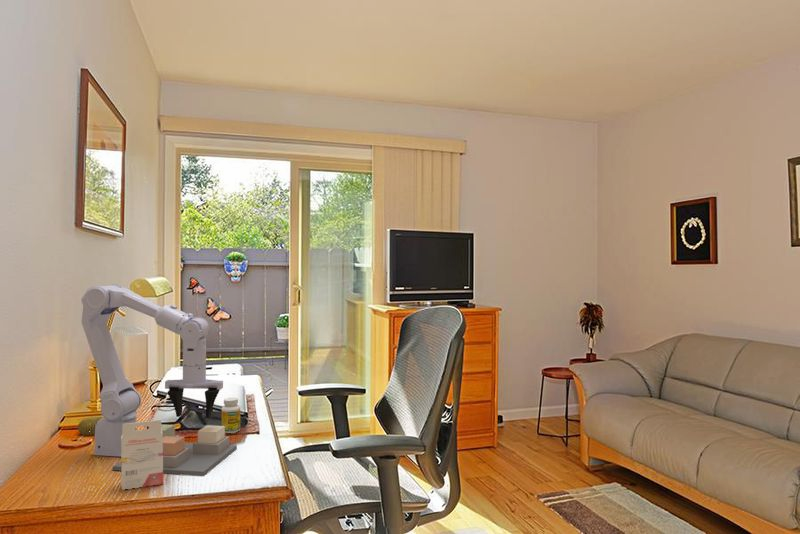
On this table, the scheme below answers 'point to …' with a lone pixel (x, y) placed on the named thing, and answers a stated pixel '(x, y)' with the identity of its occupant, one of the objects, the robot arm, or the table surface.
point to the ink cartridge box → (141, 455)
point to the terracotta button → (173, 445)
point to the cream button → (211, 434)
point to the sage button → (168, 430)
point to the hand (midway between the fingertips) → (193, 416)
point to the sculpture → (90, 427)
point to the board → (195, 458)
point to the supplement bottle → (231, 415)
